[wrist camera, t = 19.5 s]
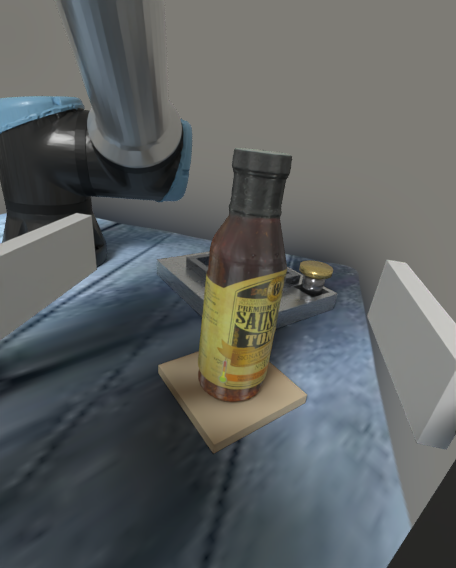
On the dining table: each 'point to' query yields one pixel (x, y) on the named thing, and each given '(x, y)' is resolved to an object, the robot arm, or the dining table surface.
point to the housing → (192, 277)
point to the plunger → (314, 277)
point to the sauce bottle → (244, 279)
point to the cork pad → (228, 415)
